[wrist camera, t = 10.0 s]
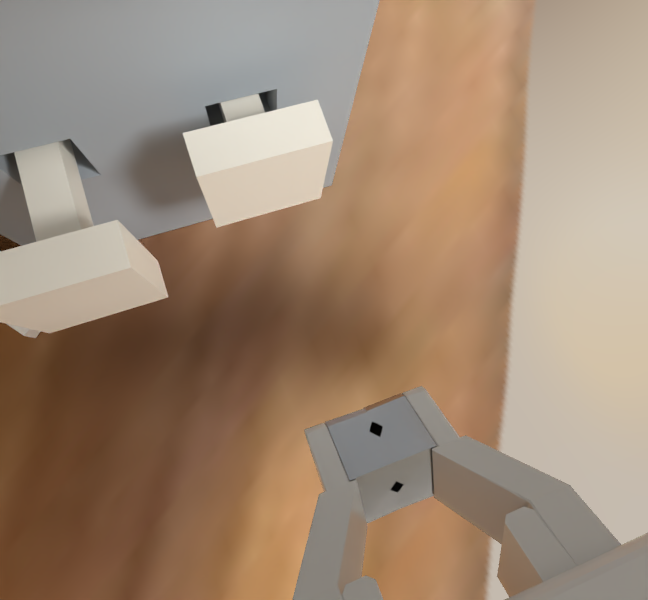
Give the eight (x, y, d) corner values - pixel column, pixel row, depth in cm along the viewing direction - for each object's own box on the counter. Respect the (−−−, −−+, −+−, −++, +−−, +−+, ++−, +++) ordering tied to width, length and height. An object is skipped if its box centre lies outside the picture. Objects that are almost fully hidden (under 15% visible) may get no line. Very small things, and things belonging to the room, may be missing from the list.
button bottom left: (49, 333, 13) (-33, 314, 10) (8, 165, 14) (-81, 93, 10) (168, 297, 14) (131, 267, 10) (122, 138, 14) (72, 61, 11)
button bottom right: (216, 227, 14) (196, 177, 11) (169, 78, 15) (136, -14, 12) (320, 197, 15) (333, 140, 11) (269, 54, 15) (266, -39, 12)
